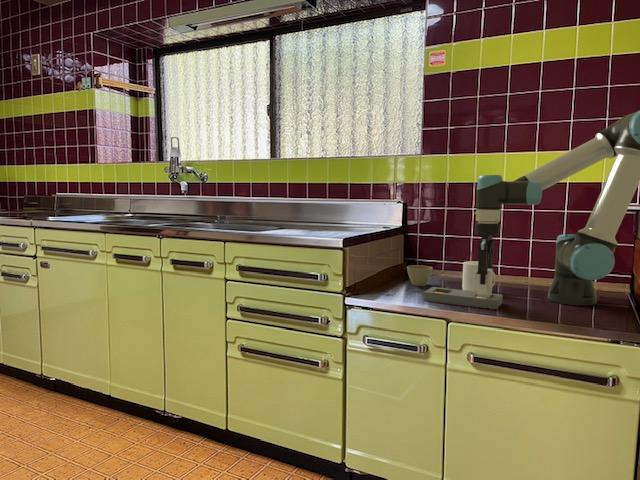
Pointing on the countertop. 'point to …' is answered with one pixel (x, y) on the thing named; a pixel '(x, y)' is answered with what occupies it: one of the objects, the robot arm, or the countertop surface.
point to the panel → (462, 298)
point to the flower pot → (419, 274)
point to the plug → (489, 288)
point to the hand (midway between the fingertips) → (484, 292)
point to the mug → (471, 276)
